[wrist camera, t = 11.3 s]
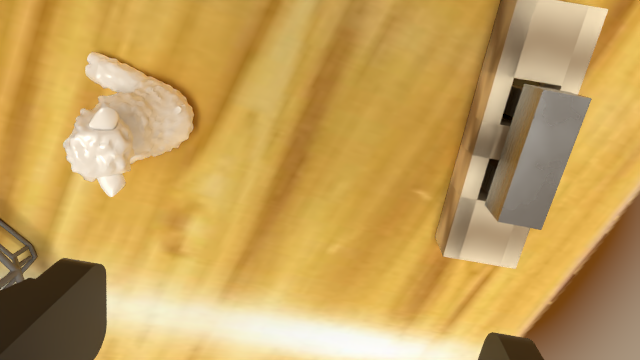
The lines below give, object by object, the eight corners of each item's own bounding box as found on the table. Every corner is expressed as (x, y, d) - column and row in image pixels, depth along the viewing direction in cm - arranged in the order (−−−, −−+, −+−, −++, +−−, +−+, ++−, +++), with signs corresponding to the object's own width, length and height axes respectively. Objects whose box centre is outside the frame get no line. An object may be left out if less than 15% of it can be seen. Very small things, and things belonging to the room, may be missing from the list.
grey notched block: (499, 76, 34) (543, 89, 27) (537, 82, 34) (591, 98, 27) (467, 182, 37) (497, 221, 30) (501, 188, 37) (541, 229, 30)
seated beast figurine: (92, 51, 35) (-28, 61, 24) (197, 53, 35) (125, 66, 24) (108, 162, 38) (9, 218, 27) (204, 166, 38) (144, 225, 27)
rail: (501, -3, 32) (519, -6, 29) (581, 11, 32) (608, 9, 29) (434, 237, 39) (443, 256, 36) (501, 248, 39) (515, 268, 36)
